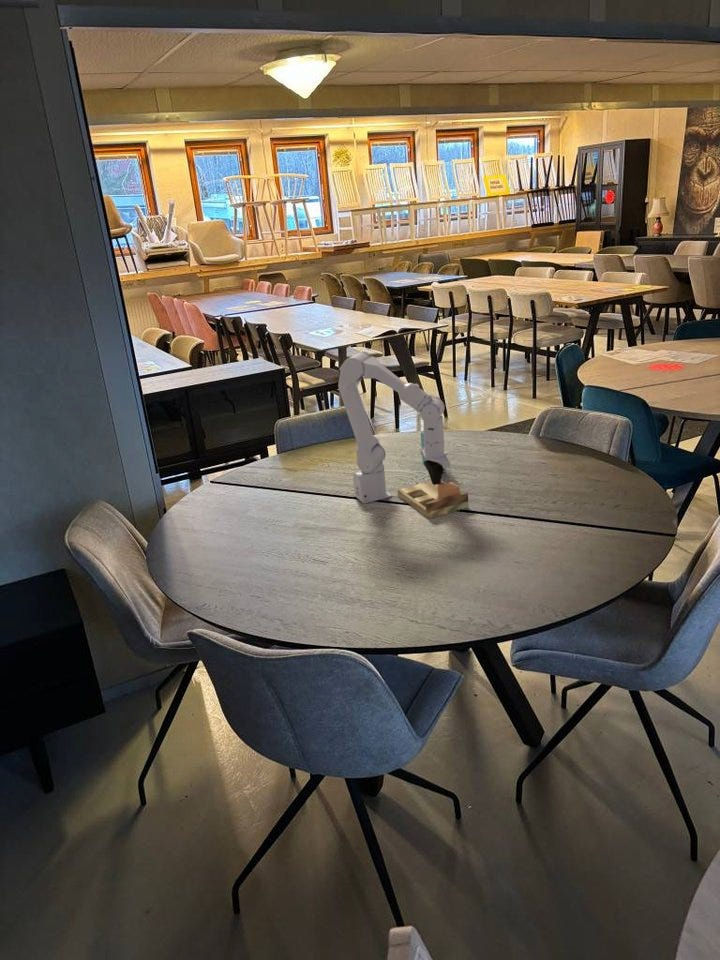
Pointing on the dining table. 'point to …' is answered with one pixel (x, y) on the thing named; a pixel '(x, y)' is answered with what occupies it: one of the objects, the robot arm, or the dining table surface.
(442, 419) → the robot arm
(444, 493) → the block
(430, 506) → the trap board
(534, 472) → the dining table surface
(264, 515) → the dining table surface
